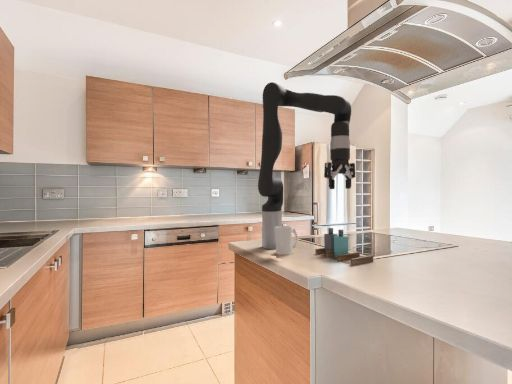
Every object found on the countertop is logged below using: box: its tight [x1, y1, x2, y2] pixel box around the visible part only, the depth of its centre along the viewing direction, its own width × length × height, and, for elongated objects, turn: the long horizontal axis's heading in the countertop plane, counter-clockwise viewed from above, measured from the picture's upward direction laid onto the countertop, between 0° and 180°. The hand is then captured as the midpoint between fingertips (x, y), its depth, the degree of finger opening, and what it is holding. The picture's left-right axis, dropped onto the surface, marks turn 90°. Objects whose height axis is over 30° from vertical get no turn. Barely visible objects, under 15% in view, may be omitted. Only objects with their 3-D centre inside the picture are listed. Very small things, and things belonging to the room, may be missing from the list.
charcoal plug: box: [323, 227, 339, 254], centre depth 112 cm, size 4×4×10 cm
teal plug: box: [334, 229, 349, 258], centre depth 107 cm, size 4×4×10 cm
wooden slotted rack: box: [314, 247, 374, 266], centre depth 107 cm, size 20×10×3 cm, turn 28°
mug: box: [275, 225, 298, 256], centre depth 116 cm, size 10×7×12 cm, turn 116°
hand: (340, 188), depth 113 cm, fingers open, 8 cm apart
